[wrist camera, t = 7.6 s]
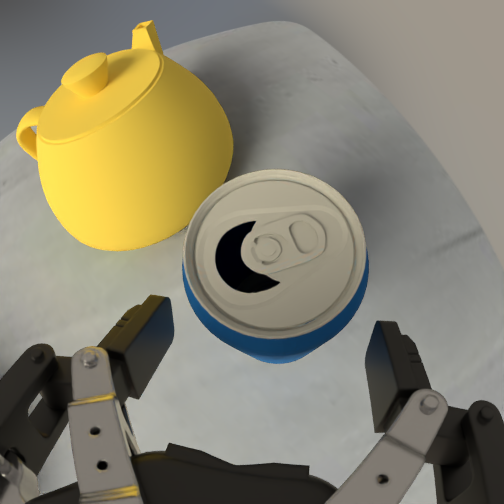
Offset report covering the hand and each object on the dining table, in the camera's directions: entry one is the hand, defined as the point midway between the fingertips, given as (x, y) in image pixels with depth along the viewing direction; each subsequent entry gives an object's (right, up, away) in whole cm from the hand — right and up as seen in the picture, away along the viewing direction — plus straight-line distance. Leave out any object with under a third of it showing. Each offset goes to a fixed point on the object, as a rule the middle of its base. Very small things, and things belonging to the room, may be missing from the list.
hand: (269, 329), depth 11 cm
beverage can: (+1, -1, +9) cm, 9 cm away
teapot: (-11, +11, +15) cm, 22 cm away
